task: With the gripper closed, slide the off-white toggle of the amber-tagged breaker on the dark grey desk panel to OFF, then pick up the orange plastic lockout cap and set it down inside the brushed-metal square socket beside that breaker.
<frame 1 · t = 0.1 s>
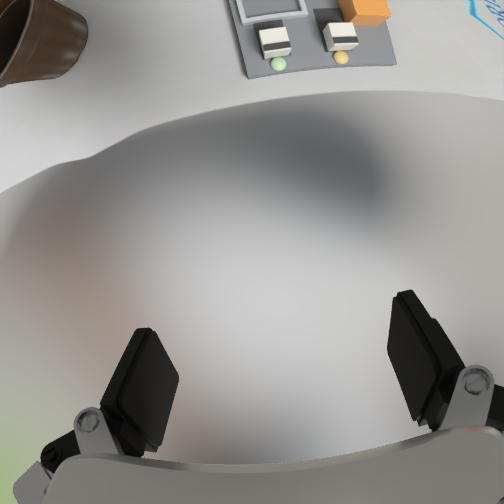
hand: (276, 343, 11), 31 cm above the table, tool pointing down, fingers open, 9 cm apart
lockout cap: (357, 11, 25), point 2 cm above the table, touching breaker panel
toggle tagged: (340, 36, 26), point 4 cm above the table, slide at 0.0 cm
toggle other: (274, 42, 27), point 4 cm above the table, slide at 0.0 cm
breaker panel: (310, 17, 28), on the table
plant pot: (60, 44, 29), on the table
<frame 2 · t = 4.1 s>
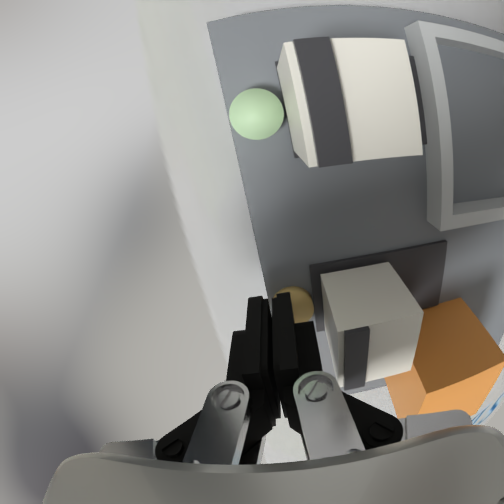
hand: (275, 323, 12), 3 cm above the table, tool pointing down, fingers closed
lockout cap: (421, 337, 14), point 2 cm above the table, touching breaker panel
toggle tagged: (367, 324, 10), point 4 cm above the table, slide at 0.3 cm, touching gripper
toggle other: (342, 100, 7), point 4 cm above the table, slide at 0.0 cm
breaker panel: (417, 221, 13), on the table
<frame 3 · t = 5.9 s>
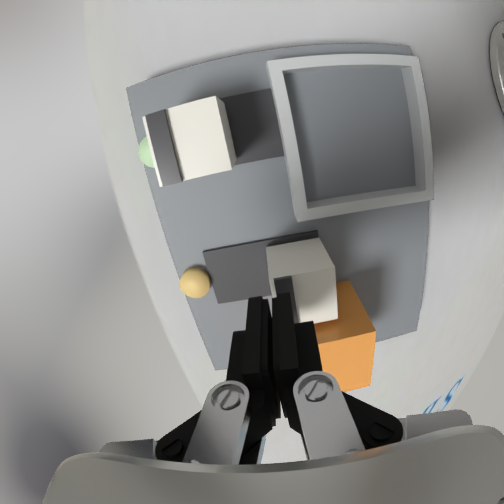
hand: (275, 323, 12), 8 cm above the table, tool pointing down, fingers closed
lockout cap: (317, 315, 19), point 2 cm above the table, touching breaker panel
toggle tagged: (300, 282, 15), point 4 cm above the table, slide at 3.5 cm
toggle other: (194, 139, 12), point 4 cm above the table, slide at 0.0 cm
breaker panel: (301, 217, 18), on the table
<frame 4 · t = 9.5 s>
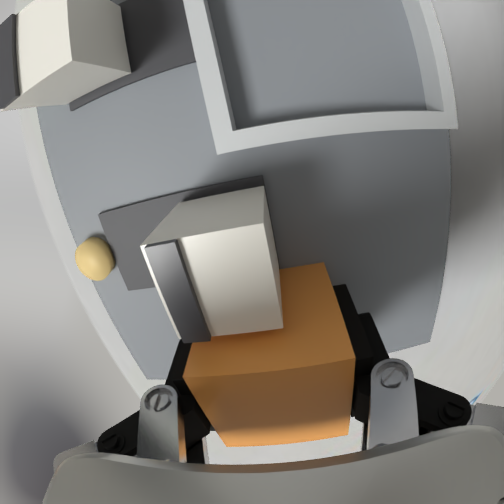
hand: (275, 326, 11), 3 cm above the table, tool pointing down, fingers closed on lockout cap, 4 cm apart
lockout cap: (275, 315, 12), point 2 cm above the table, touching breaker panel, gripper
toggle tagged: (222, 259, 9), point 4 cm above the table, slide at 3.5 cm
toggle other: (60, 48, 6), point 4 cm above the table, slide at 0.0 cm
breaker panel: (248, 163, 11), on the table
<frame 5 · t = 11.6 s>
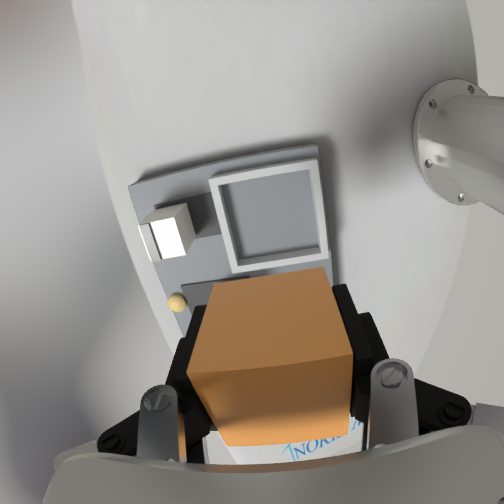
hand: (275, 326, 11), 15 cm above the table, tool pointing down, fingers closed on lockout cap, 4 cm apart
lockout cap: (276, 319, 13), point 14 cm above the table, touching gripper
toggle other: (168, 231, 22), point 4 cm above the table, slide at 0.0 cm
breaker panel: (244, 263, 28), on the table
when the fingers open (5 cm above the table, at t = 13.8 s): lockout cap drops 1 cm, resting on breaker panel.
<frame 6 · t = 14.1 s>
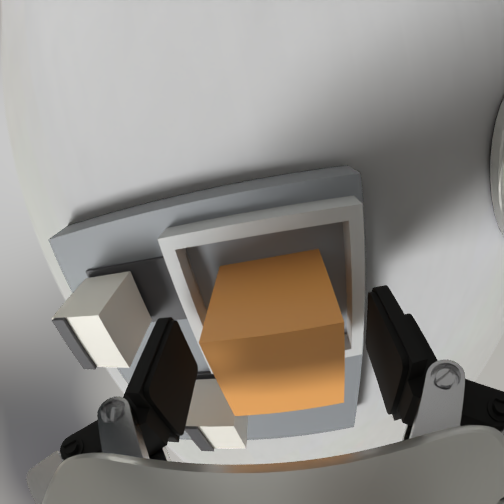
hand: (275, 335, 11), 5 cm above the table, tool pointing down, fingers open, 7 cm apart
lockout cap: (277, 298, 14), point 2 cm above the table, touching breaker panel
toggle tagged: (217, 415, 15), point 4 cm above the table, slide at 3.5 cm
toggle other: (103, 321, 12), point 4 cm above the table, slide at 0.0 cm
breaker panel: (231, 345, 18), on the table
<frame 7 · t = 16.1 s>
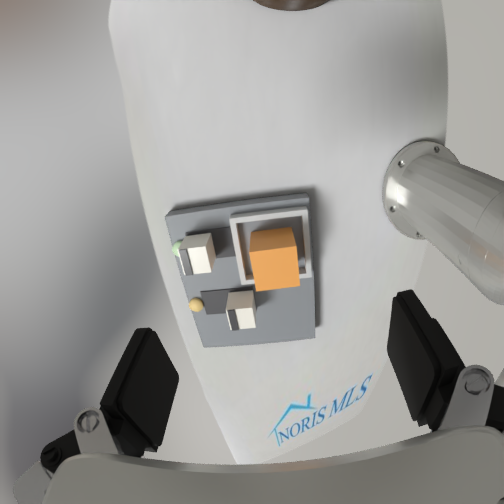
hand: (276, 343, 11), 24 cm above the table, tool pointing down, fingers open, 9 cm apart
lockout cap: (273, 247, 33), point 2 cm above the table, touching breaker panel
toggle tagged: (241, 310, 34), point 4 cm above the table, slide at 3.5 cm
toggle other: (197, 253, 31), point 4 cm above the table, slide at 0.0 cm
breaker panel: (248, 276, 37), on the table
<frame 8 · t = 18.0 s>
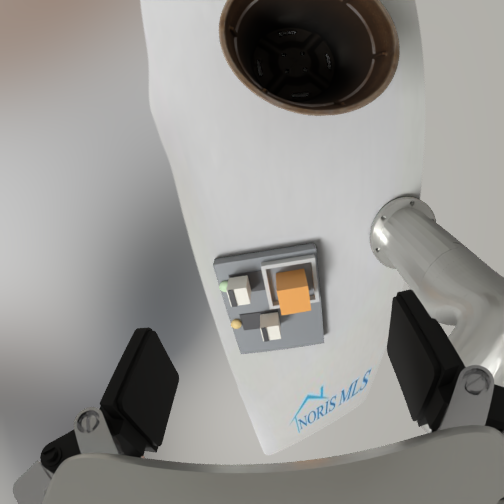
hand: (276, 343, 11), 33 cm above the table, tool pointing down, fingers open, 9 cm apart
lockout cap: (291, 282, 46), point 2 cm above the table, touching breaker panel
toggle tagged: (270, 326, 47), point 4 cm above the table, slide at 3.5 cm
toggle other: (239, 291, 44), point 4 cm above the table, slide at 0.0 cm
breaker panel: (273, 301, 50), on the table
plant pot: (295, 62, 33), on the table
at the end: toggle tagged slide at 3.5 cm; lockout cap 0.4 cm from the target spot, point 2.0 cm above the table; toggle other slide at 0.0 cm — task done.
